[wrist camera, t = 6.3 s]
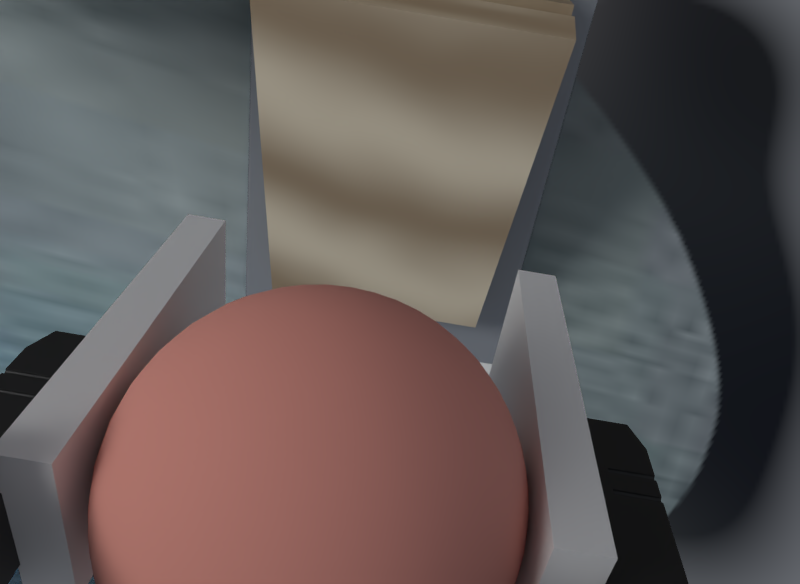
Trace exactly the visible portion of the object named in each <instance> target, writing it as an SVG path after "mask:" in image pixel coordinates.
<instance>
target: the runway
mask: <svg viewBox="0 0 800 584" xmlns="http://www.w3.org/2000/svg"><path fill="white" fill-rule="evenodd" d="M570 1H571V2H572V3H573V4H574V8H573V12H572V16H575V28H576V42H575V45H574V48H573V51H572V54H571V56H570V59H569V62H568V65H567V68H566V71H565V73H564V76H563V79H562V82H561V85H560V88H559V91H558V93H557V96H556V99H555V102H554V105H553V108H552V111H551V113H550V116H549V119H548V122H547V125H546V128H545V130H544V133H543V136H542V139H541V142H540V145H539V148H538V150H537V153H536V156H535V159H534V162H533V165H532V168H531V170H530V173H529V176H528V179H527V182H526V185H525V188H524V190H523V193H522V196H521V199H520V202H519V205H518V207H517V210H516V213H515V216H514V219H513V222H512V225H511V227H510V230H509V233H508V236H507V239H506V242H505V245H504V247H503V250H502V253H501V256H500V259H499V262H498V265H497V267H496V270H495V273H494V276H493V279H492V282H491V284H490V287H489V290H488V293H487V296H486V299H485V302H484V304H483V307H482V310H481V313H480V316H479V319H478V322H477V324H476V327H475V328H474V327H468V326H462V325H456V324H450V323H444V322H438V321H436V322H437V323H439V324H440V325H441V326H442V327H444V328H445V329H446V330H447V331H448V332H450V333H451V334H452V335H453V336H455V337H456V338H457V339H458V340H459V341H460V342H461V343H462V344H463V345H464V346H465V347H466V348H467V349H468V350H469V351H470V352H471V353H472V354H473V355H474V356H475V357H476V359H477V360H478V361H479V362H480V364H481V365H482V366H483V368H484V369H485V371H486V372H487V373H488V375H489V374H490V370H491V367H492V363H493V359H494V356H495V352H496V349H497V345H498V341H499V338H500V334H501V331H502V327H503V323H504V320H505V316H506V312H507V309H508V305H509V302H510V298H511V294H512V291H513V287H514V283H515V280H516V276H517V273H518V270H521V269H522V266H523V262H524V259H525V255H526V252H527V248H528V244H529V241H530V237H531V234H532V230H533V227H534V223H535V220H536V216H537V213H538V209H539V206H540V202H541V199H542V195H543V191H544V188H545V184H546V181H547V177H548V174H549V170H550V167H551V163H552V160H553V156H554V153H555V149H556V146H557V142H558V138H559V135H560V131H561V128H562V124H563V121H564V117H565V114H566V110H567V107H568V103H569V100H570V96H571V92H572V89H573V85H574V82H575V78H576V75H577V71H578V68H579V64H580V61H581V57H582V54H583V50H584V47H585V43H586V39H587V36H588V32H589V29H590V25H591V22H592V18H593V15H594V11H595V8H596V4H597V1H598V0H570ZM268 290H272V280H271V267H270V254H269V241H268V228H267V216H266V203H265V190H264V177H263V164H262V151H261V139H260V126H259V113H258V100H257V87H256V75H255V62H254V49H253V36H252V24H251V71H250V118H249V165H248V212H247V259H246V296H248V295H252V294H256V293H260V292H264V291H268Z"/></svg>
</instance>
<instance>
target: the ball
mask: <svg viewBox="0 0 800 584" xmlns="http://www.w3.org/2000/svg"><path fill="white" fill-rule="evenodd" d="M528 515H529V493H528V481H527V473H526V466H525V461H524V456H523V450H522V446H521V443H520V440H519V437H518V433H517V430H516V427H515V425H514V422H513V420H512V417H511V414H510V412H509V409H508V407H507V405H506V404H505V402H504V400H503V398H502V396H501V394H500V392H499V390H498V388H497V387H496V385H495V384H494V382H493V381H492V379H491V378H490V376H489V375H488V373H487V372H486V371H485V369H484V368H483V366H482V365H481V364H480V362H479V361H478V360H477V359H476V357H475V356H474V355H473V354H472V353H471V352H470V351H469V350H468V349H467V348H466V347H465V346H464V345H463V344H462V343H461V342H460V341H459V340H458V339H457V338H456V337H455V336H453V335H452V334H451V333H450V332H448V331H447V330H446V329H445V328H444V327H442V326H441V325H440V324H439V323H437V322H436V321H434V320H433V319H431V318H430V317H428V316H426V315H425V314H423V313H422V312H420V311H418V310H417V309H414V308H412V307H410V306H408V305H406V304H404V303H402V302H400V301H398V300H395V299H392V298H389V297H386V296H383V295H381V294H378V293H375V292H370V291H366V290H362V289H357V288H353V287H345V286H336V285H327V284H323V285H296V286H288V287H280V288H276V289H272V290H268V291H264V292H260V293H256V294H252V295H248V296H246V297H243V298H241V299H238V300H235V301H233V302H230V303H228V304H226V305H224V306H222V307H220V308H218V309H217V310H215V311H213V312H211V313H209V314H208V315H206V316H204V317H202V318H201V319H199V320H197V321H195V322H194V323H192V324H191V325H189V326H188V327H187V328H186V329H184V330H183V331H182V332H181V333H179V334H178V335H177V336H176V337H174V338H173V339H172V340H171V341H170V342H168V343H167V344H166V345H165V346H164V347H163V348H162V349H160V350H159V351H158V353H157V354H156V355H155V356H154V357H153V358H152V359H151V360H150V362H149V363H148V364H147V365H146V366H145V367H144V368H143V370H142V371H141V372H140V373H139V375H138V376H137V377H136V378H135V380H134V381H133V382H132V383H131V385H130V387H129V388H128V390H127V392H126V393H125V395H124V397H123V398H122V400H121V402H120V404H119V405H118V407H117V409H116V411H115V413H114V414H113V416H112V418H111V420H110V422H109V424H108V427H107V430H106V433H105V436H104V438H103V441H102V444H101V447H100V450H99V453H98V456H97V458H96V461H95V464H94V470H93V476H92V482H91V488H90V495H89V503H88V543H89V554H90V559H91V565H92V570H93V576H94V580H95V584H515V583H516V580H517V577H518V574H519V570H520V567H521V563H522V559H523V556H524V550H525V543H526V537H527V530H528Z"/></svg>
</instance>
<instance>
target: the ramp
mask: <svg viewBox="0 0 800 584" xmlns="http://www.w3.org/2000/svg"><path fill="white" fill-rule="evenodd" d="M573 8H574V4H573V3H572V2H571V1H570V0H250V10H251V23H252V36H253V49H254V62H255V75H256V87H257V100H258V113H259V126H260V139H261V151H262V164H263V177H264V190H265V203H266V216H267V228H268V241H269V254H270V267H271V280H272V289H276V288H280V287H288V286H296V285H323V284H327V285H336V286H345V287H353V288H357V289H362V290H366V291H370V292H375V293H378V294H381V295H383V296H386V297H389V298H392V299H395V300H398V301H400V302H402V303H404V304H406V305H408V306H410V307H412V308H414V309H417V310H418V311H420V312H422V313H423V314H425V315H426V316H428V317H430V318H431V319H433V320H434V321H438V322H444V323H450V324H456V325H462V326H468V327H474V328H475V327H476V324H477V322H478V319H479V316H480V313H481V310H482V307H483V304H484V302H485V299H486V296H487V293H488V290H489V287H490V284H491V282H492V279H493V276H494V273H495V270H496V267H497V265H498V262H499V259H500V256H501V253H502V250H503V247H504V245H505V242H506V239H507V236H508V233H509V230H510V227H511V225H512V222H513V219H514V216H515V213H516V210H517V207H518V205H519V202H520V199H521V196H522V193H523V190H524V188H525V185H526V182H527V179H528V176H529V173H530V170H531V168H532V165H533V162H534V159H535V156H536V153H537V150H538V148H539V145H540V142H541V139H542V136H543V133H544V130H545V128H546V125H547V122H548V119H549V116H550V113H551V111H552V108H553V105H554V102H555V99H556V96H557V93H558V91H559V88H560V85H561V82H562V79H563V76H564V73H565V71H566V68H567V65H568V62H569V59H570V56H571V54H572V51H573V48H574V45H575V42H576V28H575V16H572V12H573Z"/></svg>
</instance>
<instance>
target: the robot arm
mask: <svg viewBox="0 0 800 584" xmlns="http://www.w3.org/2000/svg"><path fill="white" fill-rule="evenodd" d="M224 305H225V220H219V219H214V218H208V217H202V216H196V215H190V214H188V215H187V216H186V217H185V219H184V220H183V221H182V222H181V223H180V225H179V226H178V227H177V228H176V229H175V231H174V232H173V233H172V234H171V235H170V236H169V238H168V239H167V240H166V241H165V242H164V244H163V245H162V246H161V247H160V248H159V250H158V251H157V252H156V253H155V254H154V256H153V257H152V258H151V259H150V260H149V261H148V263H147V264H146V265H145V266H144V267H143V269H142V270H141V271H140V272H139V273H138V275H137V276H136V277H135V278H134V279H133V281H132V282H131V283H130V284H129V285H128V287H127V288H126V289H125V290H124V291H123V292H122V294H121V295H120V296H119V297H118V298H117V300H116V301H115V302H114V303H113V304H112V306H111V307H110V308H109V309H108V310H107V312H106V313H105V314H104V315H103V316H102V317H101V319H100V320H99V321H98V322H97V323H96V325H95V326H94V327H93V328H92V329H91V331H90V332H89V333H88V334H87V335H86V336H83V335H77V334H71V333H65V332H59V331H55V332H53V333H51V334H49V335H48V336H46V337H44V338H42V339H40V340H39V341H37V342H35V343H33V344H31V345H29V346H28V347H26V348H25V349H24V350H23V351H22V352H21V353H20V354H19V355H18V356H17V357H16V358H15V360H14V361H13V362H12V363H11V364H10V365H9V366H8V367H7V368H6V371H5V373H1V374H0V584H8V583H9V581H10V580H11V578H12V576H13V575H14V573H15V572H16V570H17V569H19V573H20V577H21V580H22V584H88V583H89V581H90V579H91V578H92V576H93V570H92V565H91V559H90V554H89V543H88V503H89V495H90V488H91V482H92V476H93V470H94V464H95V461H96V458H97V456H98V453H99V450H100V447H101V444H102V441H103V438H104V436H105V433H106V430H107V427H108V424H109V422H110V420H111V418H112V416H113V414H114V413H115V411H116V409H117V407H118V405H119V404H120V402H121V400H122V398H123V397H124V395H125V393H126V392H127V390H128V388H129V387H130V385H131V383H132V382H133V381H134V380H135V378H136V377H137V376H138V375H139V373H140V372H141V371H142V370H143V368H144V367H145V366H146V365H147V364H148V363H149V362H150V360H151V359H152V358H153V357H154V356H155V355H156V354H157V353H158V351H159V350H160V349H162V348H163V347H164V346H165V345H166V344H167V343H168V342H170V341H171V340H172V339H173V338H174V337H176V336H177V335H178V334H179V333H181V332H182V331H183V330H184V329H186V328H187V327H188V326H189V325H191V324H192V323H194V322H195V321H197V320H199V319H201V318H202V317H204V316H206V315H208V314H209V313H211V312H213V311H215V310H217V309H218V308H220V307H222V306H224ZM489 376H490V378H491V379H492V381H493V382H494V384H495V385H496V387H497V388H498V390H499V392H500V394H501V396H502V398H503V400H504V402H505V404H506V405H507V407H508V409H509V412H510V414H511V417H512V420H513V422H514V425H515V427H516V430H517V433H518V437H519V440H520V443H521V446H522V450H523V456H524V461H525V466H526V473H527V481H528V493H529V515H528V530H527V537H526V543H525V550H524V556H523V559H522V563H521V567H520V570H519V574H518V577H517V580H516V583H515V584H688V581H687V578H686V575H685V571H684V568H683V565H682V562H681V558H680V555H679V552H678V549H677V546H676V543H675V539H674V536H673V533H672V530H671V526H670V523H669V520H668V517H667V514H666V510H665V507H664V504H663V503H661V494H660V491H659V488H658V485H657V482H656V481H654V476H655V475H654V472H653V469H652V466H651V462H650V459H649V456H648V453H647V450H646V448H645V447H644V446H643V444H642V443H641V442H640V441H639V439H638V438H637V437H636V436H635V434H634V433H633V432H632V430H631V429H630V428H629V427H628V425H625V424H619V423H613V422H607V421H601V420H595V419H589V418H587V417H586V412H585V408H584V403H583V398H582V394H581V389H580V385H579V380H578V376H577V371H576V367H575V362H574V358H573V353H572V349H571V344H570V339H569V335H568V330H567V326H566V321H565V317H564V312H563V308H562V303H561V299H560V294H559V289H558V285H557V280H556V276H553V275H547V274H541V273H535V272H529V271H523V270H518V273H517V276H516V280H515V283H514V287H513V291H512V294H511V298H510V302H509V305H508V309H507V312H506V316H505V320H504V323H503V327H502V331H501V334H500V338H499V341H498V345H497V349H496V352H495V356H494V359H493V363H492V367H491V370H490V374H489Z"/></svg>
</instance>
